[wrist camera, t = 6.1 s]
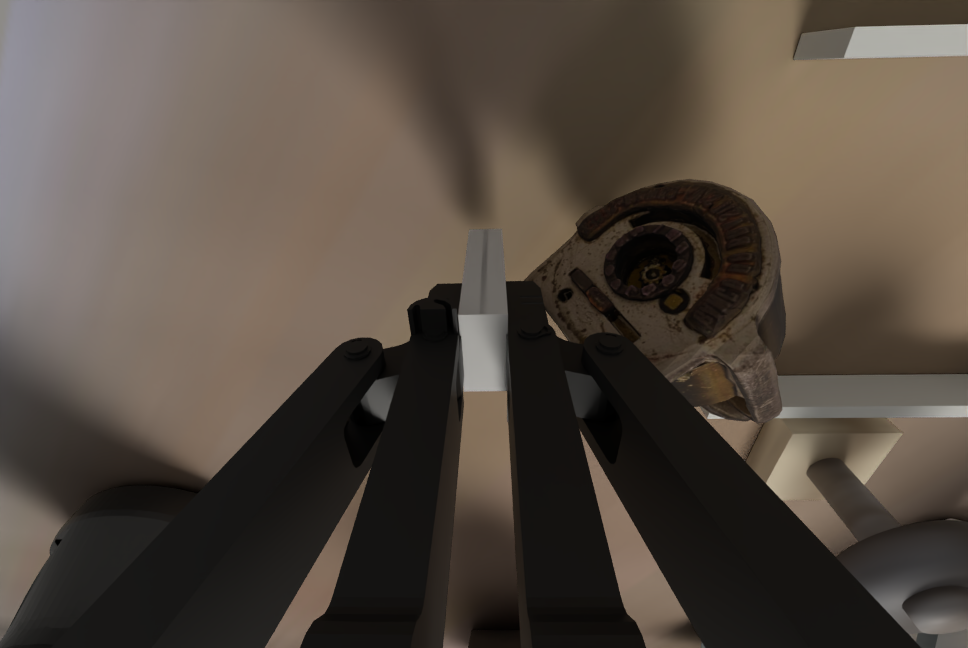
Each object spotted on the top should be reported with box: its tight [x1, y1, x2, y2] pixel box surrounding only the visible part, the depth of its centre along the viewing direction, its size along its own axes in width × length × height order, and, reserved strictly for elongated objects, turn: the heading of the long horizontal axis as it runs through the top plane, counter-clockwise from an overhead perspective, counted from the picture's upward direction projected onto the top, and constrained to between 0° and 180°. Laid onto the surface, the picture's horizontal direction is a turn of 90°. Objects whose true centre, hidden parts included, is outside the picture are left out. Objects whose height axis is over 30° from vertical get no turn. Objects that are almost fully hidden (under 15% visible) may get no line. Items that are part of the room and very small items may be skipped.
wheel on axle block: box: [746, 418, 968, 634], centre depth 21 cm, size 7×7×10 cm
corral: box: [700, 24, 968, 419], centre depth 18 cm, size 17×17×2 cm
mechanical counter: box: [524, 179, 786, 423], centre depth 15 cm, size 7×13×10 cm, turn 57°
